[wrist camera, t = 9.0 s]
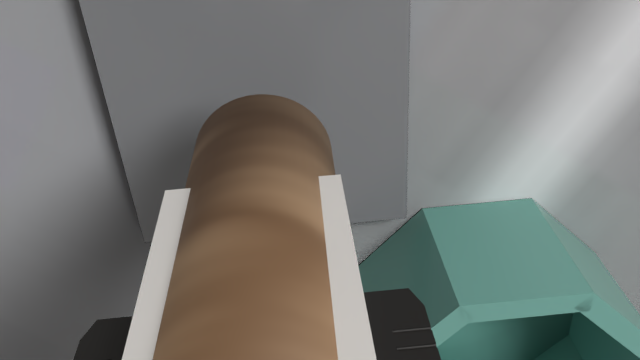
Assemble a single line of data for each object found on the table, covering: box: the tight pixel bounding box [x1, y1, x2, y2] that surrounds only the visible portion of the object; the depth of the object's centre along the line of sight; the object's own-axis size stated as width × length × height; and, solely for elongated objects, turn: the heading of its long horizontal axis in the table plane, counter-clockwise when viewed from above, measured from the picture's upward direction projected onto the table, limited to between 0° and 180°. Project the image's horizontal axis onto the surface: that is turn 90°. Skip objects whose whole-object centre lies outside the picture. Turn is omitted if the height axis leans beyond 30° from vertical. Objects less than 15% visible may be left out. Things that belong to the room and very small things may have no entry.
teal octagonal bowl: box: [358, 198, 640, 360], centre depth 25 cm, size 11×11×6 cm
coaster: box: [79, 0, 410, 243], centre depth 21 cm, size 10×10×1 cm
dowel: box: [153, 94, 338, 360], centre depth 13 cm, size 4×4×12 cm
